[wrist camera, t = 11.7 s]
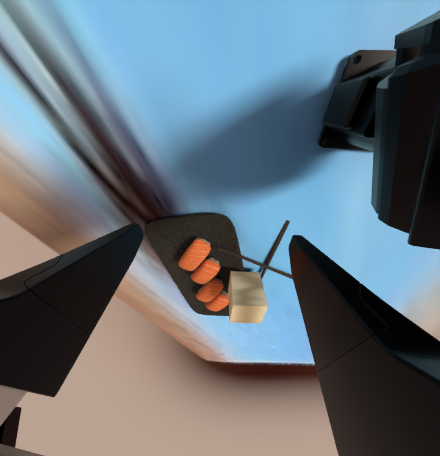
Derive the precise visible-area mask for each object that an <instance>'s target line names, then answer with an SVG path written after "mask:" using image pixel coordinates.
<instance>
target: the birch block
mask: <svg viewBox="0 0 440 456" xmlns="http://www.w3.org/2000/svg"><path fill="white" fill-rule="evenodd" d="M228 298H229V321H230V322H236V323H261V322H262V319H263V317H264V315H265V313H266V310H267V308H268V304H267V300H266V296H265V292H264V288H263V284H262V280H261V276H260V272H237V271H231V273H230V279H229V286H228Z"/></svg>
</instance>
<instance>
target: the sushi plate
mask: <svg viewBox="0 0 440 456" xmlns="http://www.w3.org/2000/svg"><path fill="white" fill-rule="evenodd" d="M289 222H290V221H288V220H287V221H286V222H285V224H284V226H283V228H282V230H281V232H280V234H279V236H278V238H277V240H276V242H275V244H274V246H273V248H272V250H271V253H270V255H269V257H268V260H267V262H266V264H265V265H264V264H261V263H259V262H256V261H253V260H251V259H248V258H246V257H243V256H241V253H240V248H239V243H238V238H237V234H236V231H235V228H234V225H233V223H232V222H231V220H230V219H229V218H228V217H227V216H224V215H221V214H213V213H209V214H195V215H186V216H178V217H171V218H164V219H159V220H155V221H152V222H150V223H149V224H148V225H147V226H146V234H147V237H148V239H149V241H150V243H151V244H152V246H153V248H154V249H155V251H156V253H157V254H158V256H159V258H160V259H161V261H162V262H163V264H164V266H165V267H166V269H167V270H168V272H169V274H170V275H171V277H172V278H173V280H174V282H175V283H176V285H177V286H178V288H179V290H180V291H181V293H182V294H183V296H184V298H185V299H186V301H187V302H188V304H189V305H190V307H191V308H192V309H193V310H194V311H195V312H196V313H198V314H202V315H216V316H229V298H228V286H229V279H230V273H231V271H237V272H244V268H243V263H242V259H244V260H247V261H249V262H252V263H254V264H257V265H259V266H262V267H264V269H263V271H262V274H261V280H262V278H263V276H264V273H265V271H266V269H269V270H272V271H274V272H277V273H279V274H282V275H284V276H286V277H289V278H291V279H293V277H292V275H290V274H287V273H285V272H282V271H279V270H277V269H274V268H271V267H269V266H268V265H269V263H270V261H271V259H272V257H273V255H274V253H275V251H276V249H277V247H278V245H279V243H280V241H281V239H282V237H283V235H284V233H285V231H286V229H287V227H288V224H289Z"/></svg>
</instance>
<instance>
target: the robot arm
mask: <svg viewBox="0 0 440 456" xmlns="http://www.w3.org/2000/svg"><path fill="white" fill-rule="evenodd" d="M394 49H397V50H396V51H392V50H359V51H357V52H355V53H353V54H352V55H351V56H350V57H349V59H348V61H347V64H346V67H345V69H344V72H343V75H342V78H341V80H340V83H339V84H338V85H337V86H336V87H335V88H334V91H333V94H332V97H331V100H330V102H329V105H328V108H327V111H326V114H325V116H324V119H323V124H324V127H323V129H322V132H321V135H320V138H319V140H318V145H319V146H320V147H323V148H339V149H355V150H369V151H372V152H374V153H373V176H372V199H371V204H372V206H373V208H374V209H375V211H376V213H377V214H378V219H379V220H381V221H382V222H384V223H385V224H387V225H389V226H391V227H393V228H396V229H398V230H401V231H403V232H406V233H409V237H408V244H410V245H413V246H419V247H426V248H433V249H440V11H438V12H436V13H435V14H433V15H431V16H429V17H427V18H426V19H424V20H422V21H420V22H419V23H417V24H415V25H413V26H411V27H410V28H408V29H406V30H404V31H403V32H401V33H399V34H397V35H396V36H395V46H394ZM356 56H357V57H358V62H357V64H354V63H353V61H354V58H355V57H356ZM324 139H326V143H324V144H322V141H323V140H324ZM142 240H143V232H142V230H141V227H140V225H139V224H129V225H127V226H125V227H123V228H120V229H118V230H116V231H114V232H111V233H109V234H107V235H105V236H102V237H100V238H98V239H96V240H93V241H91V242H89V243H87V244H84V245H82V246H80V247H78V248H75V249H73V250H71V251H69V252H66V253H65V254H62V255H60V256H57V257H55V258H53V259H50V260H48V261H46V262H44V263H41V264H39V265H36V266H34V267H32V268H29V269H26V270H24V271H21V272H19V273H16V274H14V275H12V276H9V277H6V278H4V279H2V280H0V456H43V455H39V454H36V453H32V452H28V451H25V450H21V449H17V448H15V444H16V438H17V431H18V425H19V420H20V413H21V408H20V407H16V406H17V404H18V403H19V402H20V400H21V399H22V398H23V396H24V395H25V394H26V393H27V392H32V393H36V394H41V395H45V396H50V397H55V395H56V394H57V393H58V391H59V389H60V388H61V386H62V384H63V382H64V381H65V379H66V377H67V375H68V373H69V372H70V370H71V368H72V367H73V365H74V363H75V361H76V360H77V358H78V356H79V354H80V353H81V351H82V349H83V347H84V345H85V344H86V342H87V340H88V339H89V337H90V335H91V333H92V331H93V330H94V328H95V326H96V324H97V323H98V321H99V319H100V317H101V316H102V314H103V312H104V310H105V309H106V307H107V305H108V304H109V302H110V300H111V298H112V296H113V295H114V293H115V291H116V290H117V288H118V286H119V284H120V283H121V281H122V279H123V277H124V276H125V274H126V272H127V270H128V269H129V267H130V265H131V263H132V262H133V260H134V258H135V256H136V253H137V251H138V249H139V246H140V244H141V242H142ZM289 256H290V264H291V272H292V277H293V281H294V285H295V289H296V292H297V296H298V300H299V304H300V308H301V312H302V316H303V320H304V323H305V327H306V331H307V335H308V339H309V343H310V347H311V351H312V354H313V358H314V362H315V366H316V369H317V372H318V373H317V374H318V378H319V382H320V386H321V390H322V393H323V397H324V401H325V405H326V409H327V413H328V416H329V421H330V424H331V428H332V432H333V436H334V440H335V444H336V447H337V451H338V455H339V456H440V341H439V340H437V339H436V338H434V337H433V336H432V335H430V334H429V333H427V332H426V331H425V330H423V329H422V328H420V327H419V326H418V325H416V324H415V323H413V322H412V321H411V320H409V319H408V318H406V317H405V316H404V315H402V314H401V313H399V312H398V311H397V310H395V309H394V308H393V307H391V306H390V305H388V304H387V303H386V302H384V301H383V300H382V299H380V298H379V297H378V296H377V295H375V294H374V293H373V292H371V291H370V290H369V289H368V288H366V287H365V286H364V285H363V284H360V282H359V281H358V280H356V279H355V278H354V277H353V276H351V275H350V274H349V273H348V272H346V271H345V270H344V269H343V268H341V267H340V266H339V265H338V264H336V263H335V262H334V261H333V260H331V259H330V258H329V257H328V256H326V255H325V254H324V253H323V252H321V251H320V250H319V249H318V248H316V247H315V246H314V245H313V244H311V243H310V242H309V241H308V240H306V239H305V238H304V237H303V236H301V235H293V236H292V239H291V242H290V244H289Z"/></svg>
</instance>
